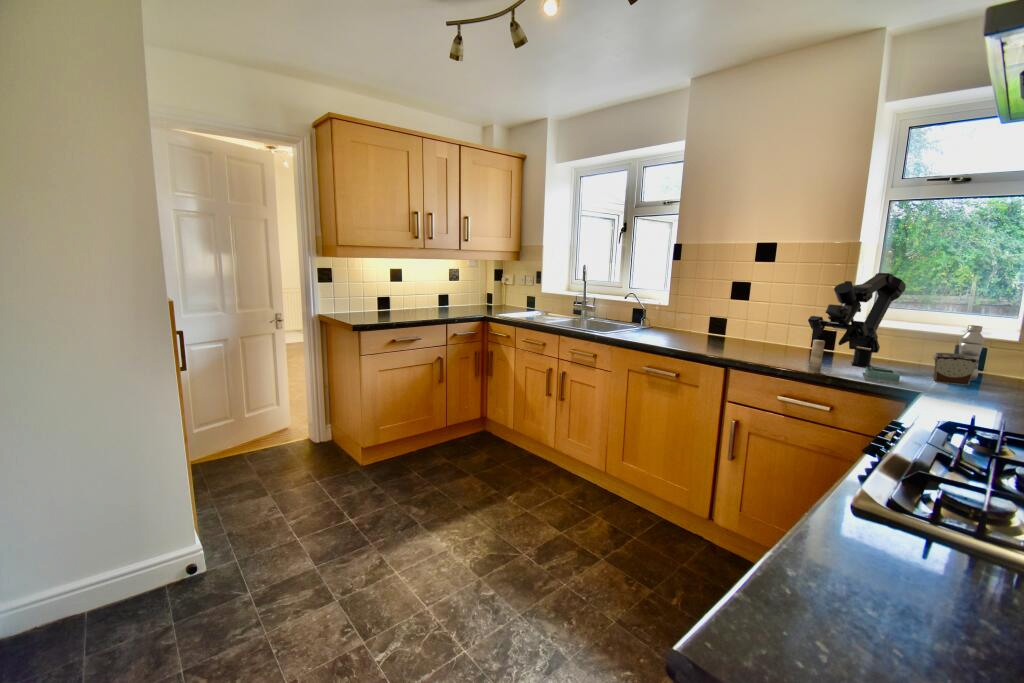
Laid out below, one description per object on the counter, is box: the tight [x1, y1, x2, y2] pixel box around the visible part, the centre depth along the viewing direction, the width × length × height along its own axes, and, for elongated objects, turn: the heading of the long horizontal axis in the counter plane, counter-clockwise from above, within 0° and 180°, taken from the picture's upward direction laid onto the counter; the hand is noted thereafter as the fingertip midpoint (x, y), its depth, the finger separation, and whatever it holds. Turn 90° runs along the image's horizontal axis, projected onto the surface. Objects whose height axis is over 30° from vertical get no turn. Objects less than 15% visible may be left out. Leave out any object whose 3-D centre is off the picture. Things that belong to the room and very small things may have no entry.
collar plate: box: [862, 366, 902, 385], centre depth 163 cm, size 10×10×3 cm
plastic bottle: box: [958, 324, 986, 382], centre depth 166 cm, size 6×7×20 cm
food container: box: [932, 352, 980, 386], centre depth 164 cm, size 12×6×10 cm, turn 71°
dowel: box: [808, 339, 826, 375], centre depth 170 cm, size 4×4×12 cm
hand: (825, 342), depth 171 cm, fingers open, 9 cm apart
